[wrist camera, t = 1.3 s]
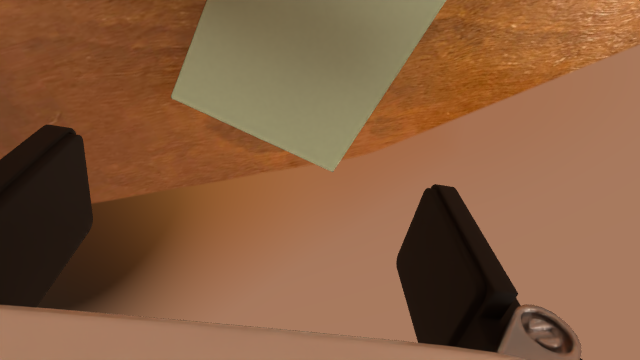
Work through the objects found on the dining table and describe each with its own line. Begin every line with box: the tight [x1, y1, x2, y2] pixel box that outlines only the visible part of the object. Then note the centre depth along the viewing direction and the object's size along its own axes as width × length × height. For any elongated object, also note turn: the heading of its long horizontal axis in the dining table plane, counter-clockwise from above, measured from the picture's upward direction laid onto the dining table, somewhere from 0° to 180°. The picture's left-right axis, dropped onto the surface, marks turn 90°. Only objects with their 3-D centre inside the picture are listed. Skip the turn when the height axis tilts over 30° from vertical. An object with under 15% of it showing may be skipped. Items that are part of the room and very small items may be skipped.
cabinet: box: [171, 0, 446, 172], centre depth 28 cm, size 14×12×9 cm
